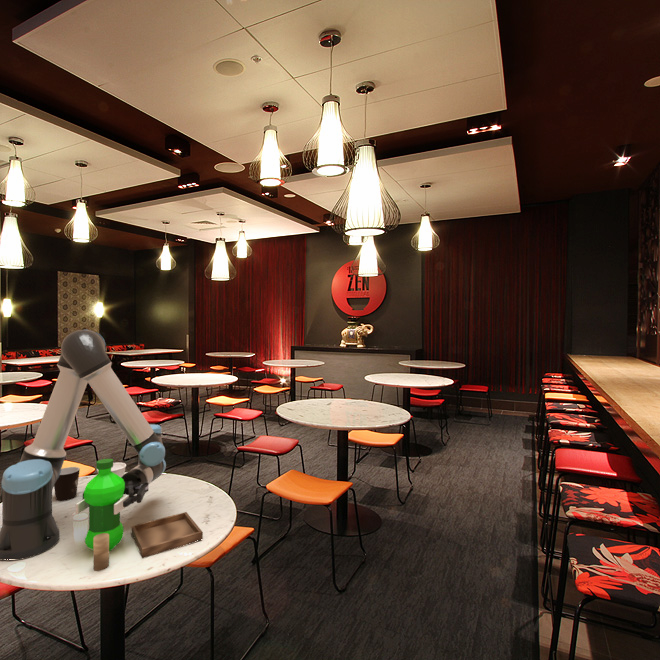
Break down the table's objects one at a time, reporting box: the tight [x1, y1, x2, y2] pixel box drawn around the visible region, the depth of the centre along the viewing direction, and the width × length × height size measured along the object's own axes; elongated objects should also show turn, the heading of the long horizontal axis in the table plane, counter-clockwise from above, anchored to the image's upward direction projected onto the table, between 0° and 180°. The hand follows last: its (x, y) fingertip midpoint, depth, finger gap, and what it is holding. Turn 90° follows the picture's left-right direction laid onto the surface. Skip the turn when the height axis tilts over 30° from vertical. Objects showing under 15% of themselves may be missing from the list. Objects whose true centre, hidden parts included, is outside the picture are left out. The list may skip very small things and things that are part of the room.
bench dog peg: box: [92, 533, 110, 572], centre depth 108 cm, size 4×4×8 cm
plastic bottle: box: [83, 458, 125, 552], centre depth 117 cm, size 10×10×25 cm
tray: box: [130, 511, 204, 559], centre depth 124 cm, size 17×17×2 cm
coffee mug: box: [53, 466, 81, 502], centre depth 154 cm, size 12×9×10 cm
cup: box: [96, 462, 127, 477], centre depth 155 cm, size 10×10×11 cm
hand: (96, 509), depth 113 cm, fingers open, 10 cm apart
